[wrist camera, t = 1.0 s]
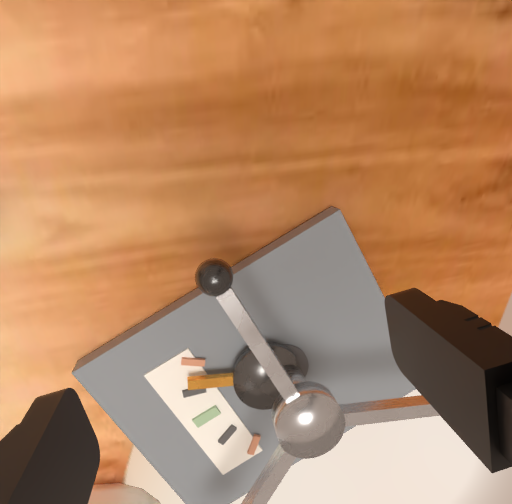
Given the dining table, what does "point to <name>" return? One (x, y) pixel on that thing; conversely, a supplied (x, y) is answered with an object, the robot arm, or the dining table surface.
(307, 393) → the capstan
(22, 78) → the dining table surface
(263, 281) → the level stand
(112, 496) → the vase
